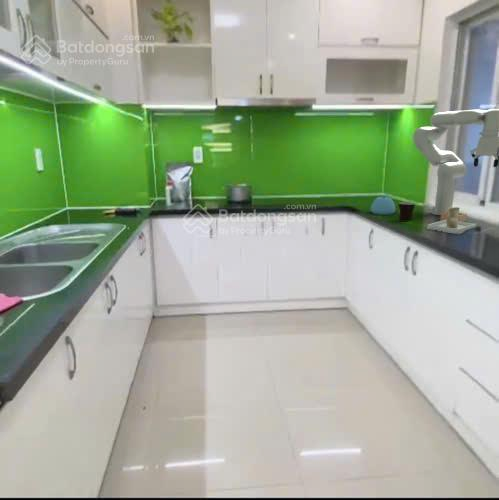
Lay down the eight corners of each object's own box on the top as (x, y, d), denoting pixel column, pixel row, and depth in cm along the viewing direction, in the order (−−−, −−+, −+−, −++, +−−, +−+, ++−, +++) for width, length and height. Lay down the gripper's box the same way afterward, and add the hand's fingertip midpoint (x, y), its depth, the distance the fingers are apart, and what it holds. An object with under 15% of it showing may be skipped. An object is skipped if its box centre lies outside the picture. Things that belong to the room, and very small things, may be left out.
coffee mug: (400, 218, 228) (401, 201, 225) (415, 220, 222) (417, 203, 220) (393, 221, 219) (394, 204, 216) (408, 223, 214) (410, 205, 211)
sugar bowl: (397, 212, 249) (398, 194, 246) (392, 216, 236) (394, 197, 233) (373, 210, 256) (374, 193, 253) (367, 214, 244) (369, 195, 241)
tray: (427, 229, 200) (427, 224, 199) (445, 224, 212) (445, 219, 211) (458, 234, 188) (458, 229, 187) (475, 228, 200) (476, 224, 199)
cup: (440, 222, 216) (441, 213, 215) (448, 220, 222) (449, 211, 220) (457, 225, 209) (459, 216, 207) (465, 222, 214) (466, 213, 213)
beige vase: (444, 226, 200) (446, 207, 197) (449, 225, 203) (451, 206, 200) (453, 228, 196) (456, 209, 193) (458, 226, 199) (461, 207, 196)
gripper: (470, 134, 210) (465, 166, 214) (505, 133, 197) (500, 167, 201) (476, 134, 214) (471, 165, 219) (511, 133, 201) (505, 167, 206)
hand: (485, 166), depth 210 cm, fingers open, 9 cm apart
